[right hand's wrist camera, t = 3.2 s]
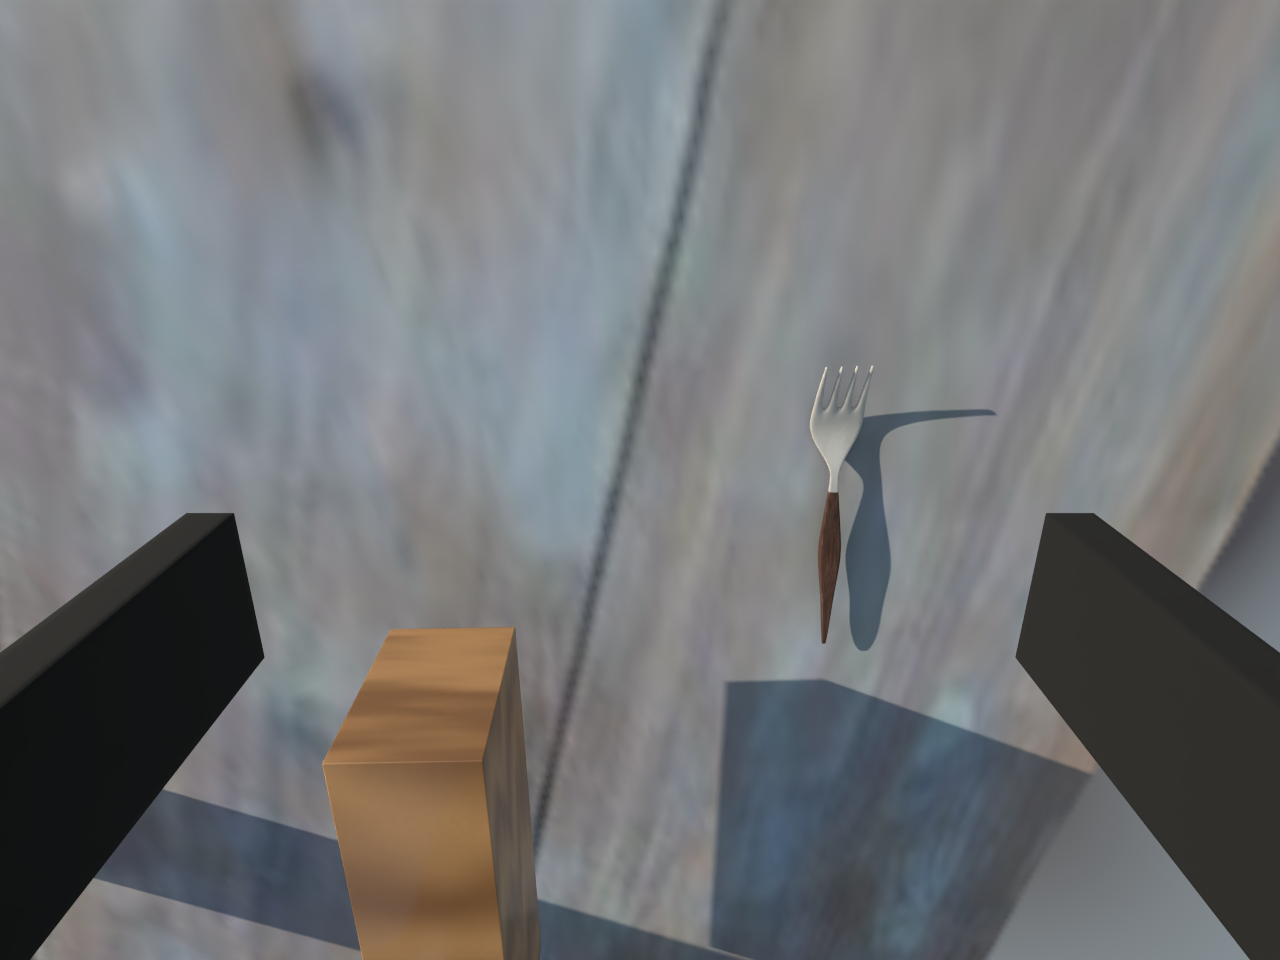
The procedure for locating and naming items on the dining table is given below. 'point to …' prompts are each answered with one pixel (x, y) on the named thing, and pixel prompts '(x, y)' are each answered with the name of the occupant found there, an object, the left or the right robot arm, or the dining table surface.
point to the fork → (834, 477)
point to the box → (437, 801)
